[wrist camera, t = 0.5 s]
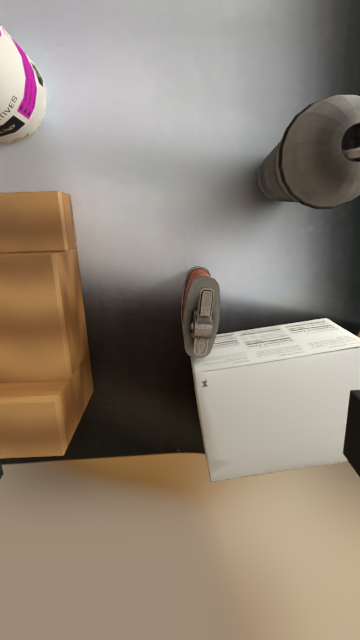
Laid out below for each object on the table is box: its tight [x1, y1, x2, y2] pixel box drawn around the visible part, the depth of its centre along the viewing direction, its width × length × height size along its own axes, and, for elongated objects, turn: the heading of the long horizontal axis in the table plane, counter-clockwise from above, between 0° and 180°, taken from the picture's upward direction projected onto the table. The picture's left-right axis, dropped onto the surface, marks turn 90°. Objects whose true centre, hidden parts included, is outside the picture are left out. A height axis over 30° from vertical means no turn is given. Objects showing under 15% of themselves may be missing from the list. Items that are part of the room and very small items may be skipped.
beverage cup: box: [258, 95, 360, 209], centre depth 25 cm, size 7×7×20 cm
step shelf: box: [0, 191, 94, 458], centre depth 32 cm, size 23×10×12 cm, turn 2°
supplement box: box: [190, 318, 360, 482], centre depth 36 cm, size 17×13×9 cm
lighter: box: [181, 266, 220, 358], centre depth 33 cm, size 8×3×10 cm, turn 175°
